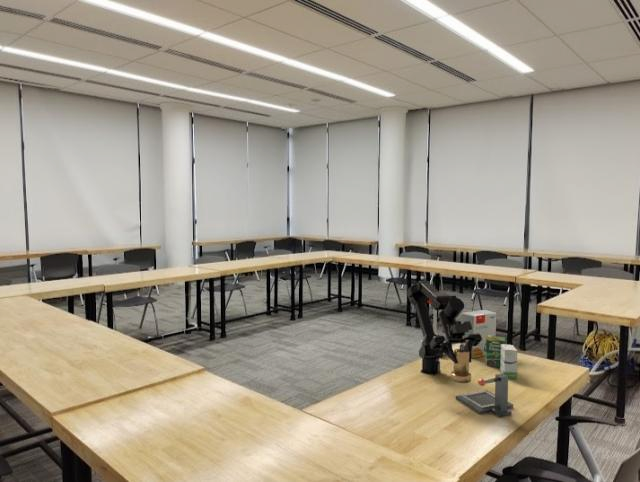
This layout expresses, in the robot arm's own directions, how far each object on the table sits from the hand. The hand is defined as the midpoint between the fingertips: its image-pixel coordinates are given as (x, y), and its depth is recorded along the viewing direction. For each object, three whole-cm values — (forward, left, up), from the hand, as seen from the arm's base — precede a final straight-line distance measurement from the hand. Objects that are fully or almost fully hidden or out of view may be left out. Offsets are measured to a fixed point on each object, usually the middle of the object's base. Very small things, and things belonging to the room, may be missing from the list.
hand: (463, 362), depth 160 cm
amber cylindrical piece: (-1, +1, -7) cm, 7 cm away
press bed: (+8, -2, -13) cm, 16 cm away
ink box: (+8, +33, -14) cm, 37 cm away
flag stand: (-28, +45, -14) cm, 55 cm away
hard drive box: (-10, +53, -14) cm, 56 cm away
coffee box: (+1, +41, -14) cm, 43 cm away
